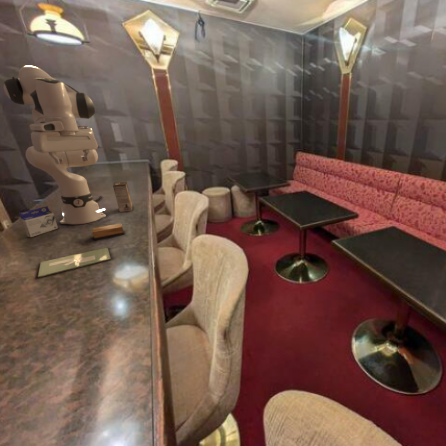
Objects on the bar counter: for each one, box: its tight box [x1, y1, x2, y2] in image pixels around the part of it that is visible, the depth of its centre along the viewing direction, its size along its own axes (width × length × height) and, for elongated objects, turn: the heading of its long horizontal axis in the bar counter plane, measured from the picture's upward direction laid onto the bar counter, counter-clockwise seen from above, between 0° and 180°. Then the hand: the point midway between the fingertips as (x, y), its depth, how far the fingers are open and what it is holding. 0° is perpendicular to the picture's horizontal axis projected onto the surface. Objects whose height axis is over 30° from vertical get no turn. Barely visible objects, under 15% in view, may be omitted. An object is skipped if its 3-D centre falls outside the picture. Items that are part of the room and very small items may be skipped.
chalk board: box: [37, 247, 112, 278], centre depth 93 cm, size 12×20×1 cm, turn 131°
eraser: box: [91, 223, 125, 241], centre depth 115 cm, size 5×11×4 cm, turn 131°
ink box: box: [18, 205, 59, 238], centre depth 114 cm, size 12×2×12 cm, turn 168°
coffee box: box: [112, 181, 133, 213], centre depth 147 cm, size 9×6×16 cm
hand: (73, 162), depth 100 cm, fingers open, 8 cm apart
